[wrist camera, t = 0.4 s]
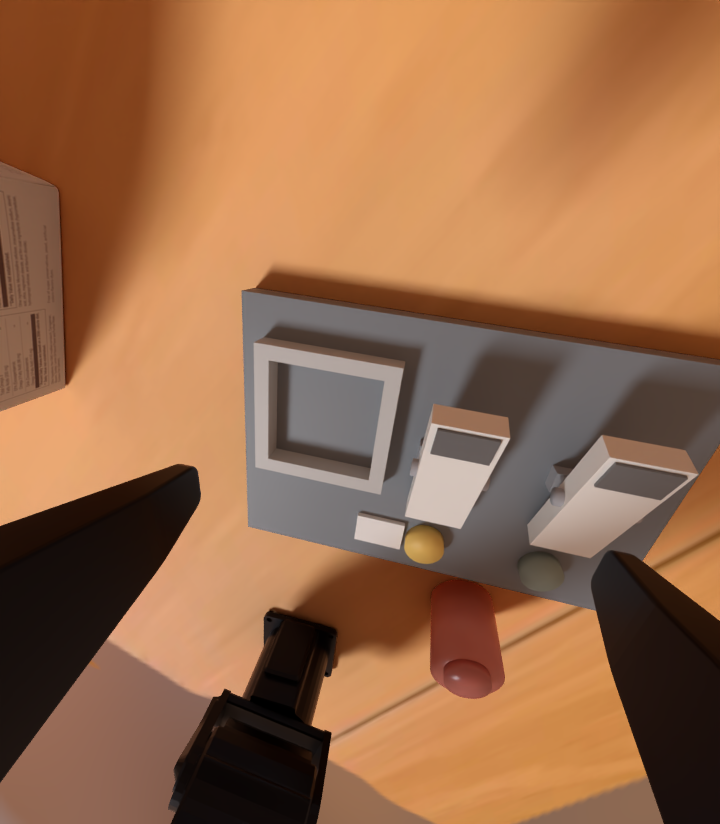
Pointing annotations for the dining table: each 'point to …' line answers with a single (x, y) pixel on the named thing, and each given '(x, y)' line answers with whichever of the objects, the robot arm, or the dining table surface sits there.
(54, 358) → the supplement box
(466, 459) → the block
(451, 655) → the cap
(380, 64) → the dining table surface
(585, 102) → the dining table surface
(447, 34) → the dining table surface
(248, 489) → the panel
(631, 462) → the breaker
